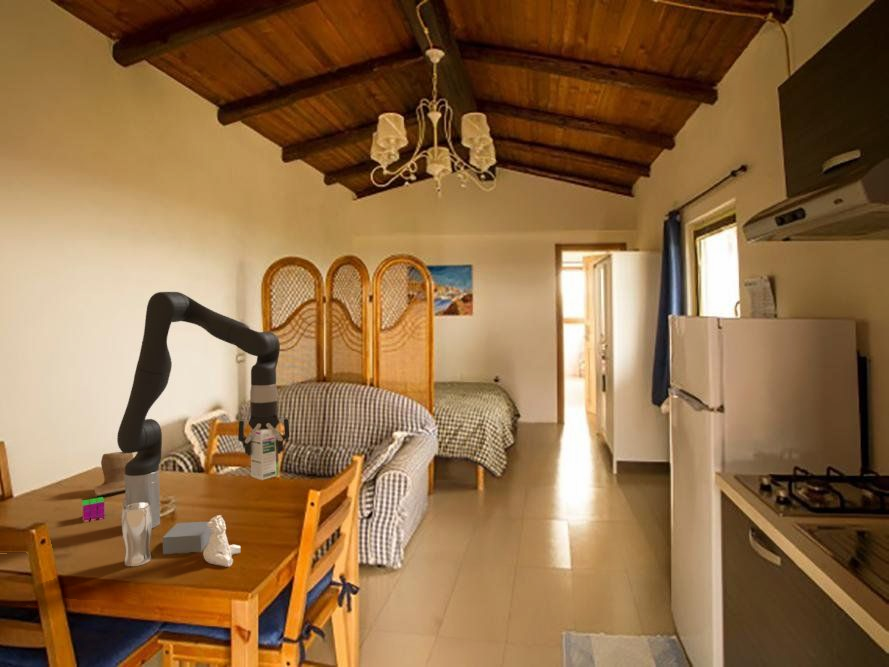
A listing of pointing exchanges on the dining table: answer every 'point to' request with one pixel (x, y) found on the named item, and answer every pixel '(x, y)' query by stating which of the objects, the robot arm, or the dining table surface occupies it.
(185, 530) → the grey block
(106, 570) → the dining table surface
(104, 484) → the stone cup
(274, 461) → the syrup box
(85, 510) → the puzzle toy
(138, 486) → the robot arm
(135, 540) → the beer glass
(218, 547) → the white creature statuette
